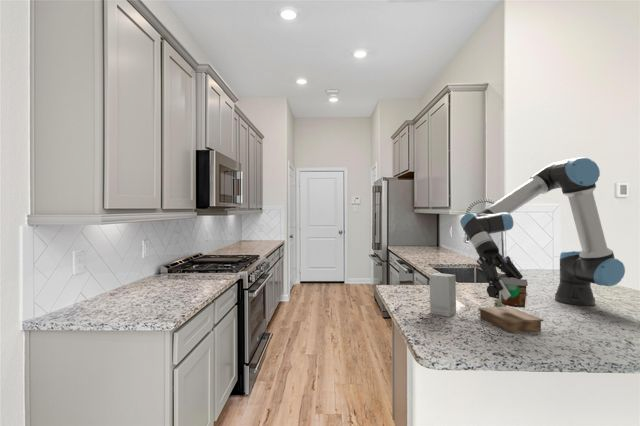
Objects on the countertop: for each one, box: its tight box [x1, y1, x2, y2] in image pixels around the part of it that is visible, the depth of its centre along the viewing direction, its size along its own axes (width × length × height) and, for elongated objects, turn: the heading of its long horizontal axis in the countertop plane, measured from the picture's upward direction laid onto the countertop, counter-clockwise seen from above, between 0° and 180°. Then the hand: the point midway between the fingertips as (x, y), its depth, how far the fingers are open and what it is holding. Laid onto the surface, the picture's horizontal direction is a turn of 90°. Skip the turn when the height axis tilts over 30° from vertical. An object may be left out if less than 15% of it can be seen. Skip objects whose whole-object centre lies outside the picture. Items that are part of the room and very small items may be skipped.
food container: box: [498, 273, 528, 309], centre depth 131 cm, size 12×6×10 cm, turn 5°
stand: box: [478, 306, 544, 333], centre depth 131 cm, size 13×17×4 cm
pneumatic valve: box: [486, 282, 507, 307], centre depth 154 cm, size 6×12×12 cm, turn 114°
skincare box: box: [429, 272, 457, 318], centre depth 144 cm, size 8×7×16 cm
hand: (516, 297), depth 128 cm, fingers closed on food container, 7 cm apart
